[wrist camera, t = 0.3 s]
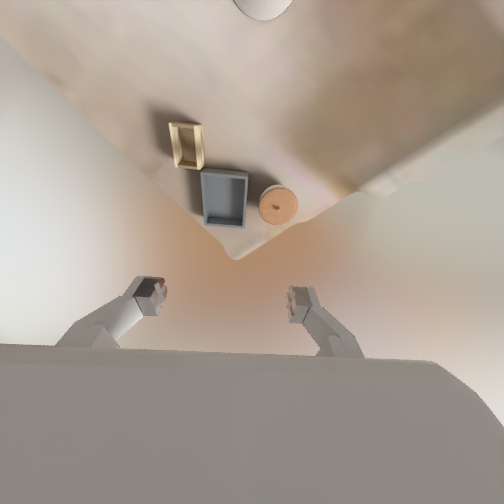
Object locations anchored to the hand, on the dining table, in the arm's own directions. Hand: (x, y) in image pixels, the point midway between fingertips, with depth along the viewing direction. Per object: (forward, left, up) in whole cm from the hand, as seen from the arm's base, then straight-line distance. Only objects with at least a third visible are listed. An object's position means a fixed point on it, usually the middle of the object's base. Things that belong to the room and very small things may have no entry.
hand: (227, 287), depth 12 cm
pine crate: (-2, -14, -46) cm, 48 cm away
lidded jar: (+10, +10, -46) cm, 48 cm away
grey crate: (+11, -5, -46) cm, 48 cm away
